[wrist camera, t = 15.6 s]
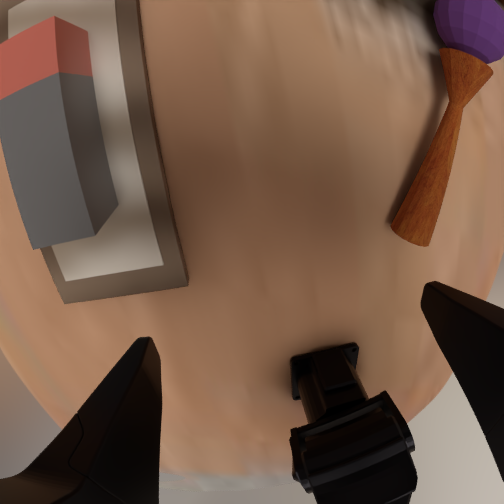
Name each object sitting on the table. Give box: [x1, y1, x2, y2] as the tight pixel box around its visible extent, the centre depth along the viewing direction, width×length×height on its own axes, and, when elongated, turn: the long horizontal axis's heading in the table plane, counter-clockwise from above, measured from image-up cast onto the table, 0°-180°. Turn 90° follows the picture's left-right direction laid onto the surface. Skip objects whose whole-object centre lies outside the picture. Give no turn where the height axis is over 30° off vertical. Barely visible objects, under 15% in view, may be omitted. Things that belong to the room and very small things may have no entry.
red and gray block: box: [0, 16, 119, 250], centre depth 13 cm, size 11×4×4 cm, turn 7°
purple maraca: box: [391, 0, 504, 247], centre depth 16 cm, size 6×6×20 cm
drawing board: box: [0, 0, 189, 304], centre depth 15 cm, size 24×10×1 cm, turn 7°
